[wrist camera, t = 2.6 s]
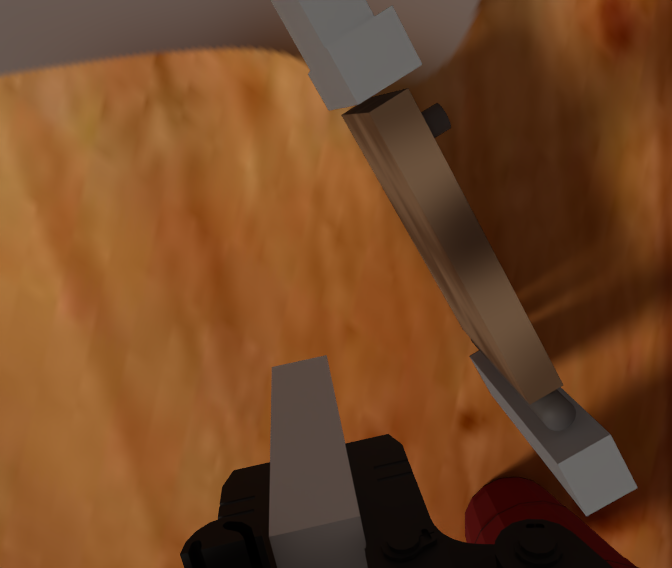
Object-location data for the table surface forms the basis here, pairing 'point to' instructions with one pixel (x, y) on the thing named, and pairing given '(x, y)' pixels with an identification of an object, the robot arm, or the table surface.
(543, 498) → the plastic cup
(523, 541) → the robot arm
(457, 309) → the door
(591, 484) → the grey upright posts
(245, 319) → the table surface
